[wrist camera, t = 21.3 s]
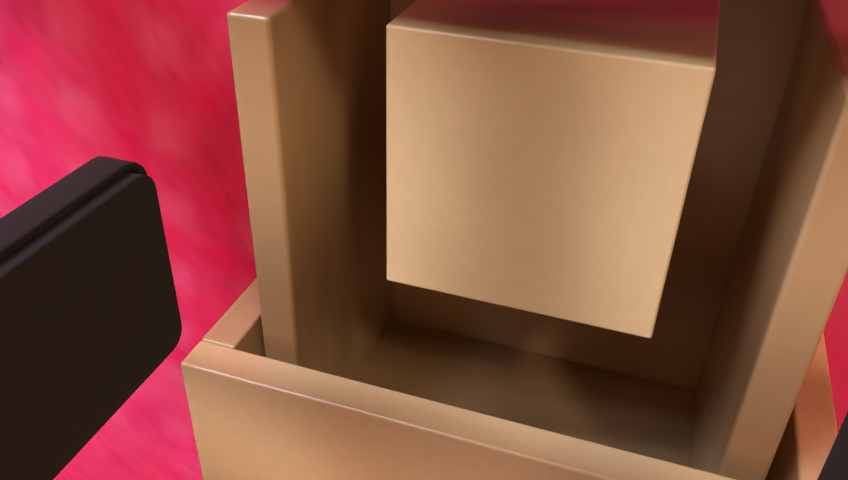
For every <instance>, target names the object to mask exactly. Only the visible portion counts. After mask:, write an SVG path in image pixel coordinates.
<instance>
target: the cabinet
mask: <svg viewBox="0 0 848 480" xmlns="http://www.w3.org/2000/svg"><path fill="white" fill-rule="evenodd" d="M181 370H182V375H183V380H184V385H185V390H186V395H187V401H188V406H189V411H190V416H191V421H192V426H193V431H194V436H195V442H196V447H197V452H198V457H199V462H200V467H201V472H202V477H203V480H737V479H733V478H729V477H725V476H721V475H717V474H714V473H710V472H706V471H702V470H698V469H694V468H690V467H687V466H683V465H679V464H675V463H671V462H667V461H664V460H660V459H656V458H652V457H648V456H644V455H640V454H637V453H633V452H629V451H625V450H621V449H617V448H613V447H610V446H606V445H602V444H598V443H594V442H590V441H586V440H583V439H579V438H575V437H571V436H567V435H563V434H560V433H556V432H552V431H548V430H544V429H540V428H536V427H533V426H529V425H525V424H521V423H517V422H513V421H509V420H506V419H502V418H498V417H494V416H490V415H486V414H482V413H479V412H475V411H471V410H467V409H463V408H459V407H455V406H452V405H448V404H444V403H440V402H436V401H432V400H429V399H425V398H421V397H417V396H413V395H409V394H405V393H402V392H398V391H394V390H390V389H386V388H382V387H378V386H375V385H371V384H367V383H363V382H359V381H355V380H351V379H348V378H344V377H340V376H336V375H332V374H328V373H325V372H321V371H317V370H313V369H309V368H305V367H301V366H298V365H294V364H290V363H286V362H282V361H278V360H274V359H271V358H267V357H266V354H265V346H264V337H263V328H262V319H261V311H260V302H259V293H258V284H257V278H256V279H255V280H254V281H253V282H252V283H251V284H250V285H249V287H248V288H247V289H246V290H245V291H244V292H243V293H242V294H241V296H240V297H239V298H238V299H237V300H236V301H235V302H234V303H233V305H232V306H231V307H230V308H229V309H228V310H227V311H226V312H225V314H224V315H223V316H222V317H221V318H220V319H219V320H218V321H217V323H216V324H215V325H214V326H213V327H212V328H211V329H210V330H209V332H208V333H207V334H206V335H205V336H204V337H203V339H202V341H200V342H199V343H198V344H197V345H196V346H195V347H194V349H193V350H192V351H191V352H190V353H189V354H188V355H187V356H186V358H185V359H184V360H183V361H182V362H181ZM837 435H838V428H837V421H836V414H835V407H834V400H833V393H832V387H831V380H830V373H829V366H828V359H827V352H826V345H825V339H824V332H823V334H822V337H821V339H820V342H819V344H818V347H817V350H816V352H815V355H814V357H813V360H812V362H811V365H810V367H809V370H808V372H807V375H806V377H805V380H804V382H803V385H802V388H801V390H800V393H799V395H798V398H797V400H796V403H795V405H794V408H793V410H792V413H791V415H790V418H789V420H788V423H787V425H786V428H785V431H784V433H783V436H782V438H781V441H780V443H779V446H778V448H777V451H776V453H775V456H774V458H773V461H772V463H771V466H770V469H769V471H768V474H767V476H766V479H765V480H817V479H818V477H819V475H820V472H821V470H822V468H823V466H824V464H825V461H826V459H827V457H828V455H829V452H830V450H831V448H832V446H833V444H834V441H835V439H836V437H837Z"/></svg>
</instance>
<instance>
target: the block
mask: <svg viewBox="0 0 848 480" xmlns="http://www.w3.org/2000/svg"><path fill="white" fill-rule="evenodd" d="M719 12H720V0H416V1H415V2H414V3H413V4H412V5H410V6H409V7H408V8H407V9H406V10H404V11H403V12H402V13H401V14H399V15H398V16H397V17H396V18H395V19H393V20H392V21H391V22H390V23H388V24H387V26H386V188H387V280H388V281H393V282H397V283H402V284H406V285H411V286H415V287H420V288H424V289H429V290H433V291H438V292H442V293H447V294H451V295H456V296H460V297H465V298H469V299H474V300H478V301H483V302H487V303H492V304H496V305H501V306H505V307H510V308H514V309H519V310H523V311H528V312H532V313H537V314H541V315H546V316H550V317H555V318H559V319H564V320H568V321H573V322H577V323H582V324H586V325H591V326H595V327H600V328H604V329H609V330H613V331H618V332H622V333H627V334H631V335H636V336H640V337H645V338H651V337H652V334H653V330H654V326H655V322H656V318H657V313H658V309H659V305H660V301H661V297H662V293H663V289H664V284H665V280H666V276H667V272H668V268H669V264H670V259H671V255H672V251H673V247H674V243H675V239H676V235H677V230H678V226H679V222H680V218H681V214H682V210H683V205H684V201H685V197H686V193H687V189H688V185H689V181H690V176H691V172H692V168H693V164H694V160H695V156H696V151H697V147H698V143H699V139H700V135H701V131H702V126H703V122H704V118H705V114H706V110H707V106H708V102H709V97H710V93H711V89H712V85H713V81H714V77H715V72H716V60H717V44H718V28H719Z"/></svg>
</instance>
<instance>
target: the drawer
mask: <svg viewBox="0 0 848 480" xmlns="http://www.w3.org/2000/svg"><path fill="white" fill-rule="evenodd" d="M415 1H416V0H249V1H247V2H246V3H244V4H242V5H240V6H238V7H236V8H234V9H233V10H231V11H229V12H228V13H227V22H228V31H229V40H230V49H231V57H232V66H233V75H234V83H235V92H236V101H237V110H238V118H239V127H240V136H241V145H242V153H243V162H244V171H245V180H246V188H247V197H248V206H249V214H250V223H251V232H252V241H253V249H254V258H255V267H256V276H257V284H258V293H259V302H260V311H261V319H262V328H263V337H264V346H265V354H266V357H267V358H271V359H274V360H278V361H282V362H286V363H290V364H294V365H298V366H301V367H305V368H309V369H313V370H317V371H321V372H325V373H328V374H332V375H336V376H340V377H344V378H348V379H351V380H355V381H359V382H363V383H367V384H371V385H375V386H378V387H382V388H386V389H390V390H394V391H398V392H402V393H405V394H409V395H413V396H417V397H421V398H425V399H429V400H432V401H436V402H440V403H444V404H448V405H452V406H455V407H459V408H463V409H467V410H471V411H475V412H479V413H482V414H486V415H490V416H494V417H498V418H502V419H506V420H509V421H513V422H517V423H521V424H525V425H529V426H533V427H536V428H540V429H544V430H548V431H552V432H556V433H560V434H563V435H567V436H571V437H575V438H579V439H583V440H586V441H590V442H594V443H598V444H602V445H606V446H610V447H613V448H617V449H621V450H625V451H629V452H633V453H637V454H640V455H644V456H648V457H652V458H656V459H660V460H664V461H667V462H671V463H675V464H679V465H683V466H687V467H690V468H694V469H698V470H702V471H706V472H710V473H714V474H717V475H721V476H725V477H729V478H733V479H737V480H765V479H766V476H767V474H768V471H769V469H770V466H771V463H772V461H773V458H774V456H775V453H776V451H777V448H778V446H779V443H780V441H781V438H782V436H783V433H784V431H785V428H786V425H787V423H788V420H789V418H790V415H791V413H792V410H793V408H794V405H795V403H796V400H797V398H798V395H799V393H800V390H801V388H802V385H803V382H804V380H805V377H806V375H807V372H808V370H809V367H810V365H811V362H812V360H813V357H814V355H815V352H816V350H817V347H818V344H819V342H820V339H821V337H822V334H823V332H824V329H825V327H826V324H827V322H828V319H829V317H830V314H831V312H832V309H833V307H834V304H835V301H836V299H837V296H838V294H839V291H840V289H841V286H842V284H843V281H844V279H845V276H846V274H847V271H848V0H720V12H719V28H718V44H717V60H716V72H715V77H714V81H713V85H712V89H711V93H710V97H709V102H708V106H707V110H706V114H705V118H704V122H703V126H702V131H701V135H700V139H699V143H698V147H697V151H696V156H695V160H694V164H693V168H692V172H691V176H690V181H689V185H688V189H687V193H686V197H685V201H684V205H683V210H682V214H681V218H680V222H679V226H678V230H677V235H676V239H675V243H674V247H673V251H672V255H671V259H670V264H669V268H668V272H667V276H666V280H665V284H664V289H663V293H662V297H661V301H660V305H659V309H658V313H657V318H656V322H655V326H654V330H653V334H652V337H651V338H645V337H640V336H636V335H631V334H627V333H622V332H618V331H613V330H609V329H604V328H600V327H595V326H591V325H586V324H582V323H577V322H573V321H568V320H564V319H559V318H555V317H550V316H546V315H541V314H537V313H532V312H528V311H523V310H519V309H514V308H510V307H505V306H501V305H496V304H492V303H487V302H483V301H478V300H474V299H469V298H465V297H460V296H456V295H451V294H447V293H442V292H438V291H433V290H429V289H424V288H420V287H415V286H411V285H406V284H402V283H397V282H393V281H388V280H387V188H386V26H387V24H388V23H390V22H391V21H392V20H393V19H395V18H396V17H397V16H398V15H399V14H401V13H402V12H403V11H404V10H406V9H407V8H408V7H409V6H410V5H412V4H413V3H414V2H415Z"/></svg>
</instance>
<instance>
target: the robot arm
mask: <svg viewBox="0 0 848 480" xmlns="http://www.w3.org/2000/svg"><path fill="white" fill-rule="evenodd" d="M181 330H182V325H181V318H180V313H179V308H178V302H177V297H176V292H175V286H174V281H173V276H172V270H171V265H170V260H169V254H168V249H167V244H166V238H165V233H164V228H163V222H162V217H161V212H160V206H159V201H158V196H157V190H156V186H155V183H154V181H153V180H152V178H151V177H149V176H147V173H146V171H145V169H144V168H143V167H142V166H141V165H139V164H138V163H134V162H129V161H124V160H119V159H114V158H110V157H102V156H99V157H96V158H94V159H92V160H90V161H89V162H87V163H86V164H84V165H82V166H81V167H79V168H78V169H76V170H75V171H73V172H72V173H70V174H69V175H67V176H66V177H64V178H62V179H61V180H59V181H58V182H56V183H55V184H53V185H52V186H50V187H49V188H47V189H45V190H44V191H42V192H41V193H39V194H38V195H36V196H35V197H33V198H32V199H30V200H29V201H27V202H25V203H24V204H22V205H21V206H19V207H18V208H16V209H15V210H13V211H12V212H10V213H9V214H7V215H5V216H4V217H2V218H1V219H0V480H53V479H54V478H55V477H56V476H57V475H58V474H59V473H60V471H61V470H62V469H63V468H64V467H65V466H66V465H67V464H68V463H69V462H70V461H71V460H72V459H73V458H74V456H75V455H76V454H77V453H78V452H79V451H80V450H81V449H82V448H83V447H84V446H85V445H86V444H87V442H88V441H89V440H90V439H91V438H92V437H93V436H94V435H95V434H96V433H97V432H98V431H99V430H100V428H101V427H102V426H103V425H104V424H105V423H106V422H107V421H108V420H109V419H110V418H111V417H112V416H113V414H114V413H115V412H116V411H117V410H118V409H119V408H120V407H121V406H122V405H123V404H124V403H125V402H126V400H127V399H128V398H129V397H130V396H131V395H132V394H133V393H134V392H135V391H136V390H137V389H138V388H139V386H140V385H141V384H142V383H143V382H144V381H145V380H146V379H147V378H148V377H149V376H150V375H151V374H152V372H153V371H154V370H155V369H156V368H157V367H158V366H159V365H160V364H161V363H162V362H163V361H164V360H165V358H166V357H167V356H168V355H169V354H170V353H171V352H172V351H173V350H174V348H175V347H176V346H177V344H178V342H179V339H180V336H181ZM817 480H848V412H847V415H846V417H845V419H844V421H843V424H842V426H841V428H840V430H839V432H838V435H837V437H836V439H835V441H834V444H833V446H832V448H831V450H830V452H829V455H828V457H827V459H826V461H825V464H824V466H823V468H822V470H821V472H820V475H819V477H818V479H817Z"/></svg>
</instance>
